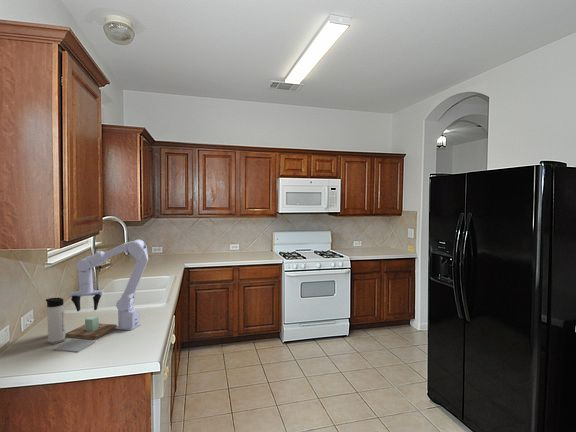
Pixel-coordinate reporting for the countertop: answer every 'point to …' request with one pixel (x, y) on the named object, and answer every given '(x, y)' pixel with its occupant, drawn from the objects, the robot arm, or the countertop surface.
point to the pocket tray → (95, 334)
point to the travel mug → (55, 320)
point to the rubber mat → (74, 345)
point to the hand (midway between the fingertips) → (87, 310)
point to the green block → (91, 323)
